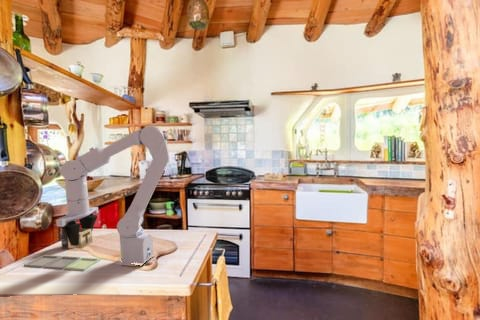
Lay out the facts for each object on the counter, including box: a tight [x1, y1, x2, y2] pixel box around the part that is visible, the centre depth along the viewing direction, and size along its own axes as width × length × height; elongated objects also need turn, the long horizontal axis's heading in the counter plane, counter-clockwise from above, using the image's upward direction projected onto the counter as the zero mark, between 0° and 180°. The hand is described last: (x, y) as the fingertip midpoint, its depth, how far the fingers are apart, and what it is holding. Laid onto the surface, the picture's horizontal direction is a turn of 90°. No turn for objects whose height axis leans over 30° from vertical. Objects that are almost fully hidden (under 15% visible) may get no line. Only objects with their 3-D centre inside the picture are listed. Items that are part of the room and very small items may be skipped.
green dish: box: [64, 257, 102, 272], centre depth 85 cm, size 7×7×1 cm
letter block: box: [68, 227, 94, 250], centre depth 85 cm, size 5×5×5 cm
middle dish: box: [43, 255, 82, 270], centre depth 87 cm, size 7×7×1 cm
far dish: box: [23, 254, 62, 269], centre depth 88 cm, size 7×7×1 cm
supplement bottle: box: [59, 220, 79, 250], centre depth 100 cm, size 6×6×11 cm
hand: (81, 241), depth 85 cm, fingers closed on letter block, 5 cm apart
